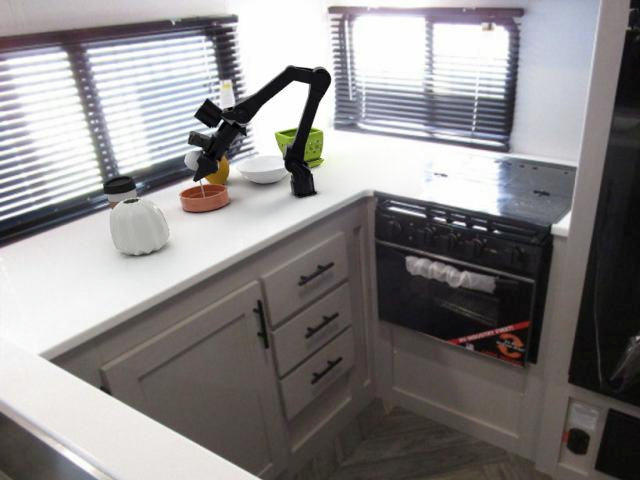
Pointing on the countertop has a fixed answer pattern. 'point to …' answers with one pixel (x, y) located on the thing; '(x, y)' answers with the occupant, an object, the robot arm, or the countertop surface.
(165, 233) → the vase
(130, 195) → the coffee cup
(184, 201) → the terracotta plant saucer
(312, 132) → the flower pot
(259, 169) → the bowl
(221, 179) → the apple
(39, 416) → the countertop surface
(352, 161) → the countertop surface
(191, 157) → the lollipop
